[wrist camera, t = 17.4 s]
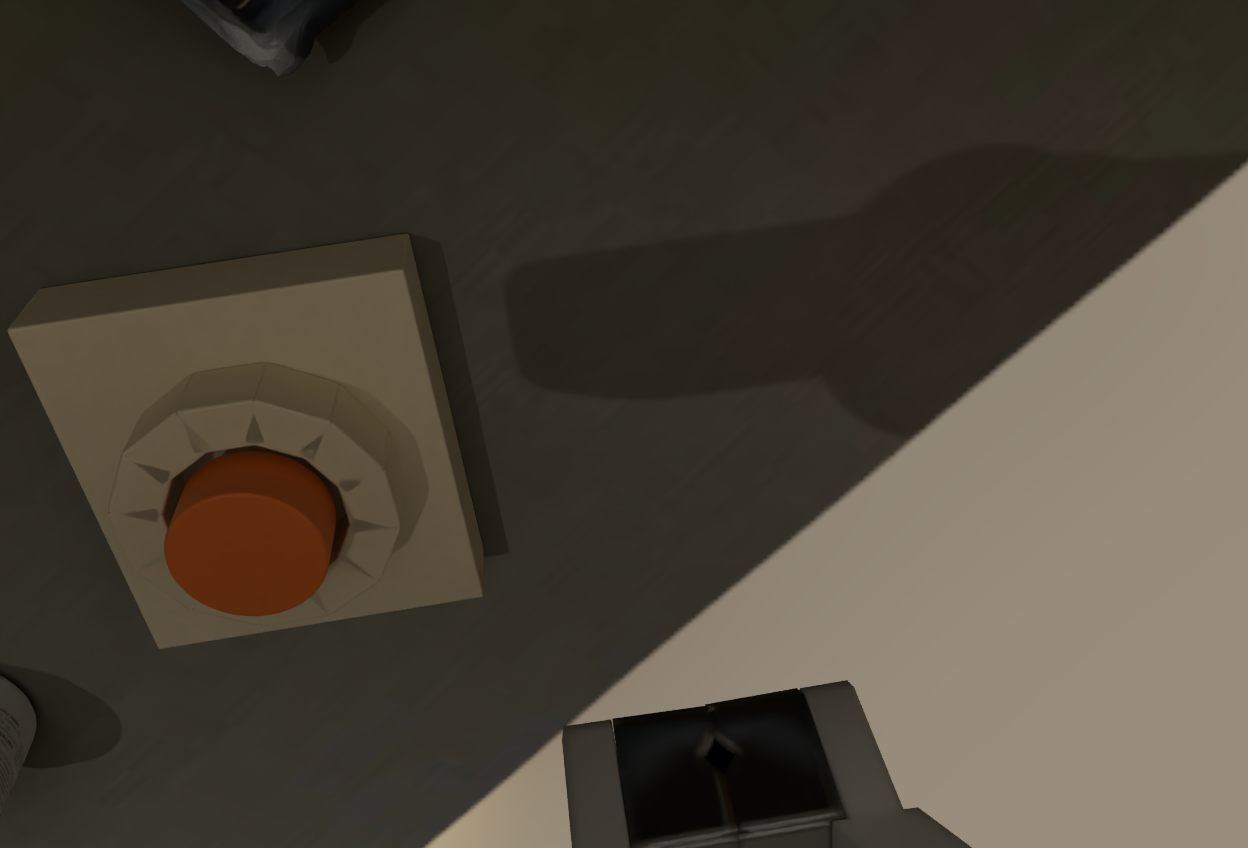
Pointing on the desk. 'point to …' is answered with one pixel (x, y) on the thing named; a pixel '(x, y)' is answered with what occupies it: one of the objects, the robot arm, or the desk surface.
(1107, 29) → the desk surface
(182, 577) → the power button
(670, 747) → the robot arm
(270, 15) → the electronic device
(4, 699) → the pill bottle
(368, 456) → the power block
